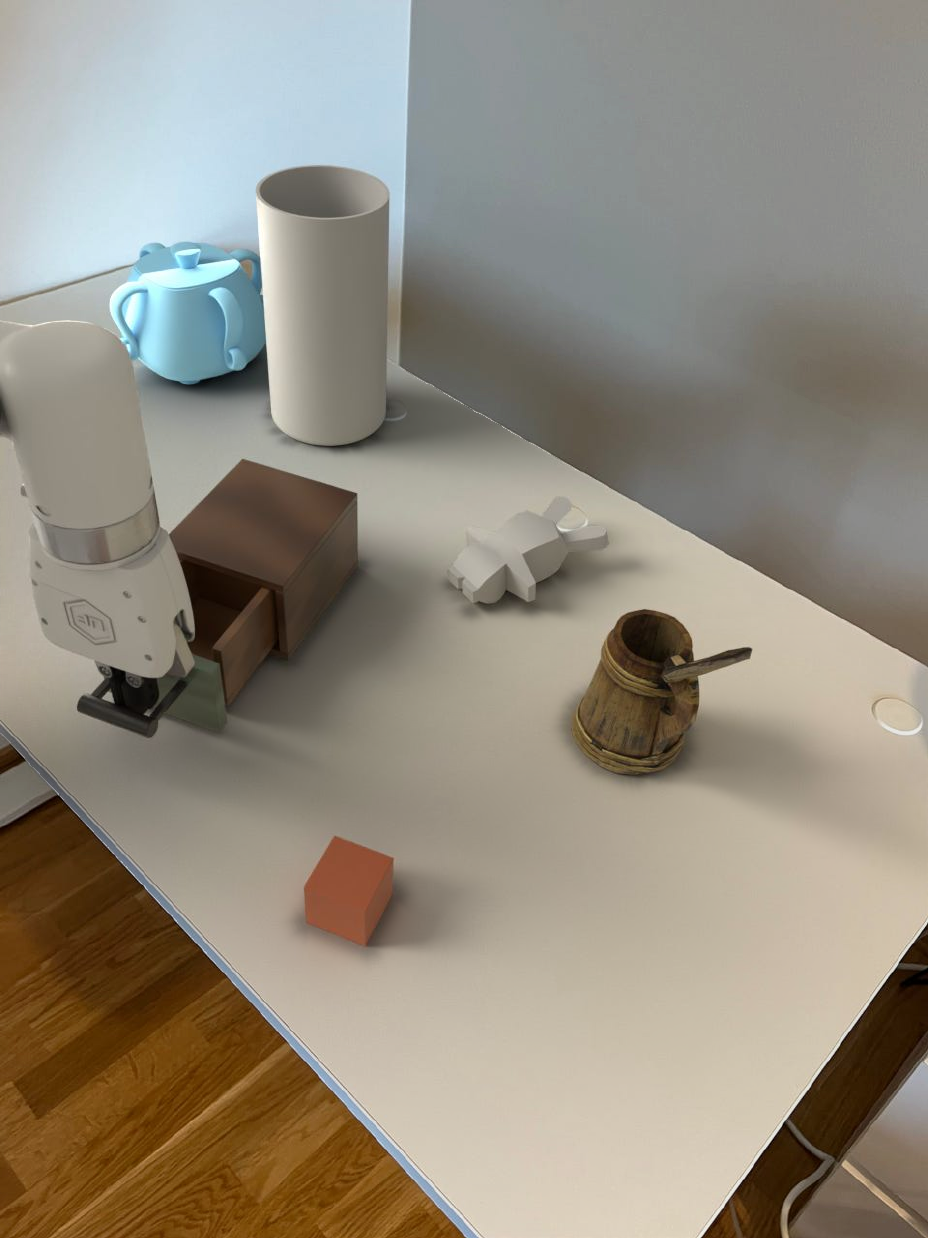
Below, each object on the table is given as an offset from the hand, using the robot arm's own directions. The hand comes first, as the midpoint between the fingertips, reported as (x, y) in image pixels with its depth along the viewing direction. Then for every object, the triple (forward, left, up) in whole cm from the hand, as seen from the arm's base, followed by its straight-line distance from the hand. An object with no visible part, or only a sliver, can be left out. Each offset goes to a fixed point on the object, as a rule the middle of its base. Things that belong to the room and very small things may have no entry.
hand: (138, 705), depth 81 cm
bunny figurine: (+20, +32, -4) cm, 38 cm away
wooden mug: (+36, +15, -4) cm, 39 cm away
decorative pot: (-27, +51, -4) cm, 58 cm away
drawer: (0, +6, -3) cm, 7 cm away
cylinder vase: (-8, +47, -4) cm, 48 cm away
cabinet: (0, +19, -4) cm, 20 cm away
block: (+21, -7, -4) cm, 22 cm away
